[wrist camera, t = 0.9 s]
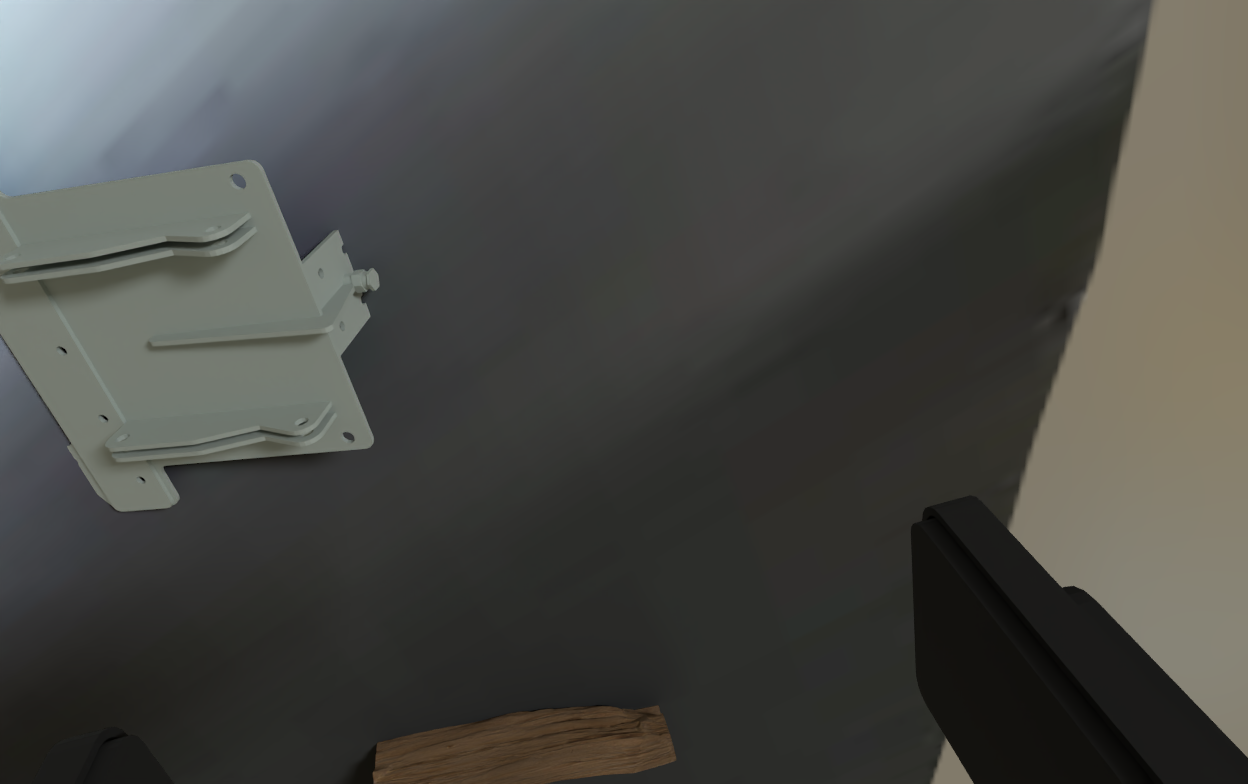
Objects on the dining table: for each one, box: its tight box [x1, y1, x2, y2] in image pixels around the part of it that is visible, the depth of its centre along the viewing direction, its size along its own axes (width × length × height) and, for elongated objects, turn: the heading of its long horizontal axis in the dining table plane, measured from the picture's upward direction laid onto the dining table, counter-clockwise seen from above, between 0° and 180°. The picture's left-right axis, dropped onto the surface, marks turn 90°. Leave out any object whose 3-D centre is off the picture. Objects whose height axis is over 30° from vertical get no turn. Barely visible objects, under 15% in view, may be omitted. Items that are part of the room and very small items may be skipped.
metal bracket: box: [0, 160, 379, 512], centre depth 30 cm, size 14×6×15 cm
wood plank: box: [373, 706, 676, 784], centre depth 43 cm, size 15×2×5 cm, turn 94°
